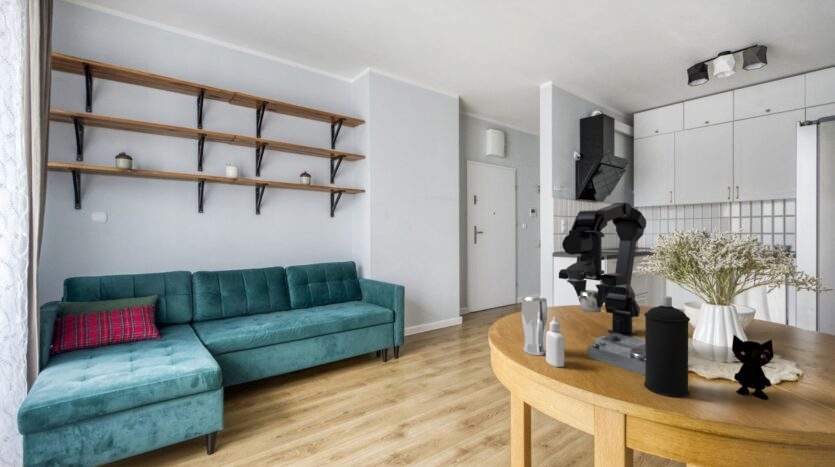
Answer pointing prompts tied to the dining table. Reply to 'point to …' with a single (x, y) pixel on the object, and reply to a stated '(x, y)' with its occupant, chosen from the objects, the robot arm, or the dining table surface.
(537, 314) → the beer glass
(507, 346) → the dining table surface
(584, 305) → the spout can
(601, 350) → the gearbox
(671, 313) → the aerosol can
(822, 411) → the dining table surface
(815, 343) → the dining table surface
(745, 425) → the dining table surface
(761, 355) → the cat figurine
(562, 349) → the eye dropper bottle
